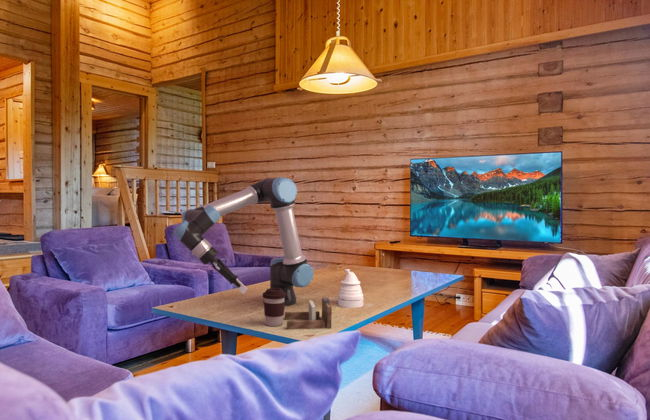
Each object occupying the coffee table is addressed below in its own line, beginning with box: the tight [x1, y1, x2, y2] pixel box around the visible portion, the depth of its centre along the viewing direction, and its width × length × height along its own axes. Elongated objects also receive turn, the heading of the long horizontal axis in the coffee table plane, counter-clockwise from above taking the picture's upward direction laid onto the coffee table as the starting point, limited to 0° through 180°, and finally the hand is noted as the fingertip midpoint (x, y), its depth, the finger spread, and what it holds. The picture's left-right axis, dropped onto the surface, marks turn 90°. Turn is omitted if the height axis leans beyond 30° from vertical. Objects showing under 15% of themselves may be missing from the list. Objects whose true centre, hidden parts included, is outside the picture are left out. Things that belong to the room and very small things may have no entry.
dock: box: [284, 297, 333, 330], centre depth 199 cm, size 19×17×10 cm
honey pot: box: [337, 268, 364, 309], centre depth 234 cm, size 13×13×18 cm
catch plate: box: [308, 299, 317, 320], centre depth 200 cm, size 2×12×8 cm, turn 8°
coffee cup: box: [262, 287, 286, 327], centre depth 197 cm, size 10×10×15 cm
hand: (245, 291), depth 195 cm, fingers closed
